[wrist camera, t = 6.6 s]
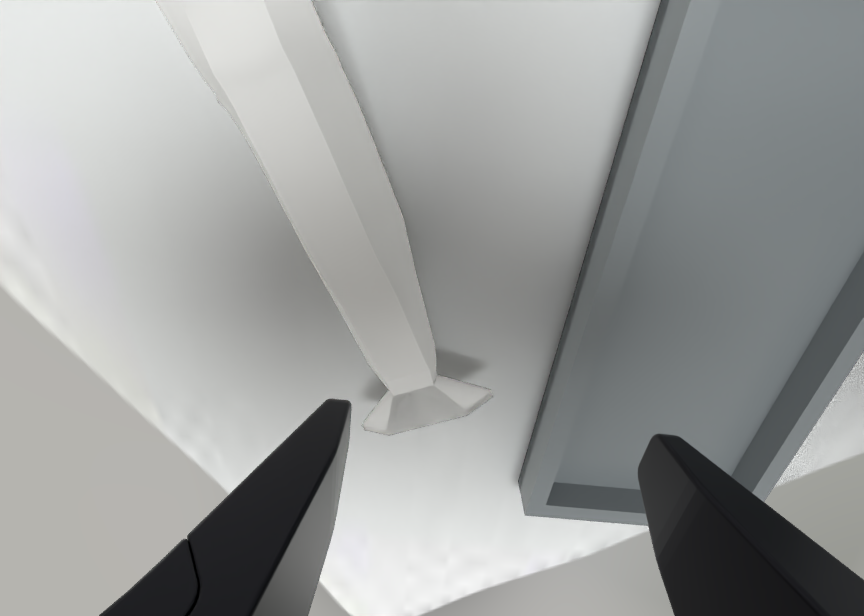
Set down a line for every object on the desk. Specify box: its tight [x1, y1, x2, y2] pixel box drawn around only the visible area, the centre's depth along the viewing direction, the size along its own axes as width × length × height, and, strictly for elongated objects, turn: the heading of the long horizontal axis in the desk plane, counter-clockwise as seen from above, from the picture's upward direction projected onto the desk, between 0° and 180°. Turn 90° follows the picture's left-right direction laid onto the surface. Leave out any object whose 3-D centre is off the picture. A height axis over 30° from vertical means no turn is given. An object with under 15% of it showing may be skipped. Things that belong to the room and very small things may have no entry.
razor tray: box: [518, 0, 864, 526], centre depth 19 cm, size 11×23×2 cm, turn 173°
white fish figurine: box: [155, 0, 493, 436], centre depth 16 cm, size 6×18×4 cm, turn 19°
